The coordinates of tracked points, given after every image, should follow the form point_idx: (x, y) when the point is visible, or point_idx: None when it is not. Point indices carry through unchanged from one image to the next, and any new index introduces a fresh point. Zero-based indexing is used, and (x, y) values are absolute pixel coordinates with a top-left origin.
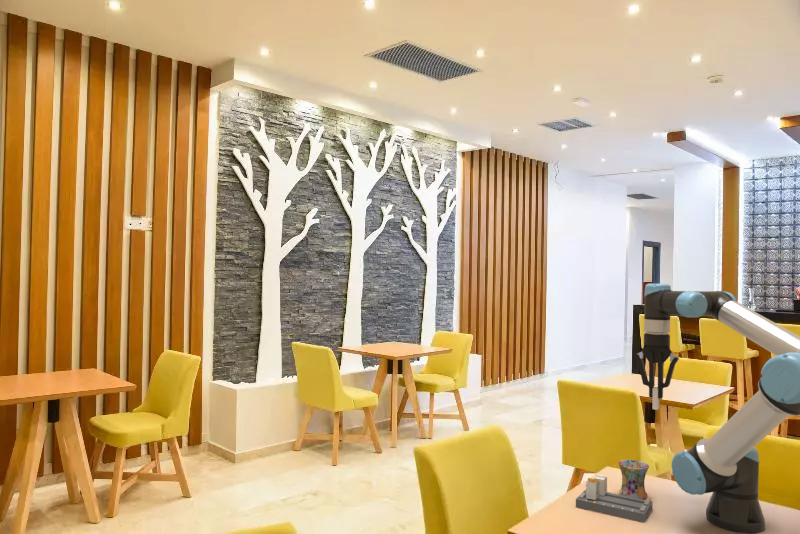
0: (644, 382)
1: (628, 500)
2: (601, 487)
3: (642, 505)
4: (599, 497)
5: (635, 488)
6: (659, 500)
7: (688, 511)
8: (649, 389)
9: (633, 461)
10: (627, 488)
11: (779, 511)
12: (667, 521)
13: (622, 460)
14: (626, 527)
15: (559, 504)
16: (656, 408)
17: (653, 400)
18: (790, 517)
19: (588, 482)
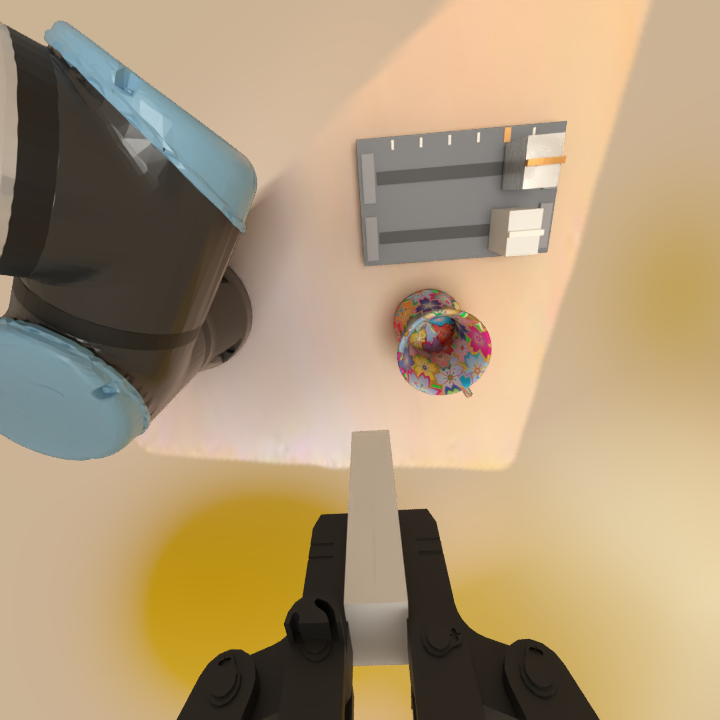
0: (547, 683)
1: (421, 227)
2: (507, 209)
3: (375, 198)
4: (500, 192)
5: (420, 306)
6: (366, 337)
7: (292, 309)
8: (447, 591)
9: (450, 388)
10: (440, 302)
11: (154, 428)
12: (310, 201)
13: (482, 369)
14: (388, 62)
15: (604, 113)
16: (358, 437)
17: (385, 481)
18: None
19: (557, 133)
